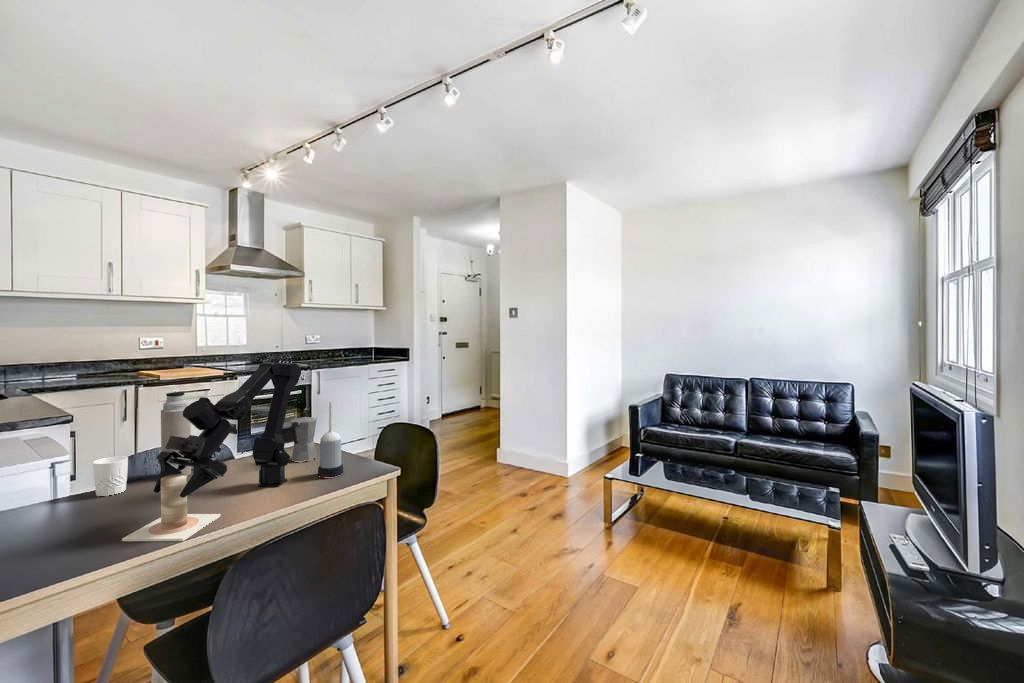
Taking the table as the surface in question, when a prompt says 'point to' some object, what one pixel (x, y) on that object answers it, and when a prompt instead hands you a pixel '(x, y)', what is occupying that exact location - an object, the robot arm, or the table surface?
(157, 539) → the card
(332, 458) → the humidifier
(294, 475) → the table surface
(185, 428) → the thermos bottle
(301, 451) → the coffeepot
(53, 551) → the table surface
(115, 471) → the white cup
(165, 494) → the wooden tube
